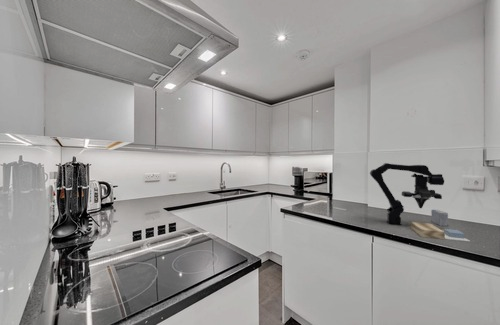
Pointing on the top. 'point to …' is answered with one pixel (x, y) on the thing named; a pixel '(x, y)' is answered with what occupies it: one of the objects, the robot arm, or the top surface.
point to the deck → (427, 230)
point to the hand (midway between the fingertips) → (420, 208)
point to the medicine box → (440, 217)
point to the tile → (454, 233)
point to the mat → (455, 238)
